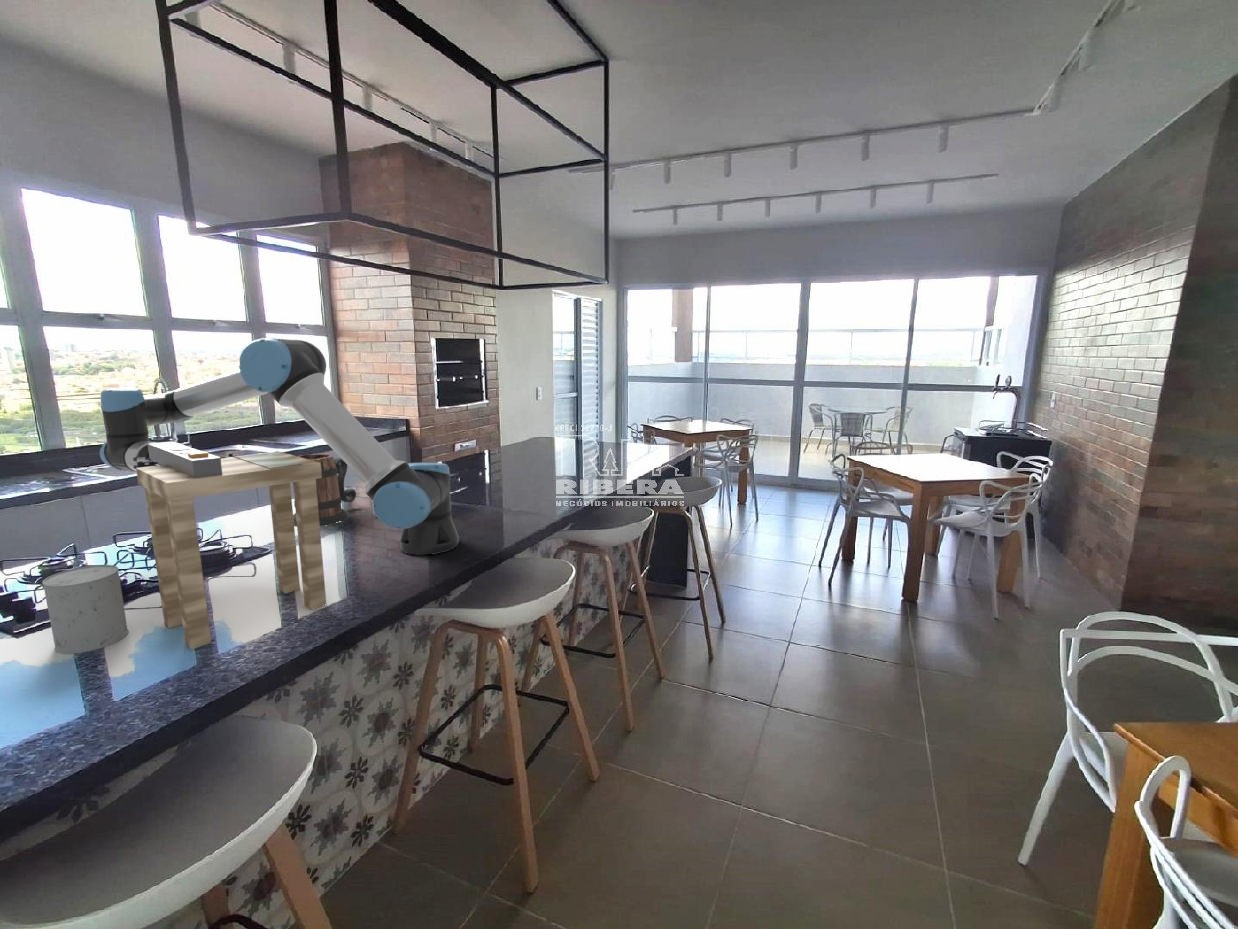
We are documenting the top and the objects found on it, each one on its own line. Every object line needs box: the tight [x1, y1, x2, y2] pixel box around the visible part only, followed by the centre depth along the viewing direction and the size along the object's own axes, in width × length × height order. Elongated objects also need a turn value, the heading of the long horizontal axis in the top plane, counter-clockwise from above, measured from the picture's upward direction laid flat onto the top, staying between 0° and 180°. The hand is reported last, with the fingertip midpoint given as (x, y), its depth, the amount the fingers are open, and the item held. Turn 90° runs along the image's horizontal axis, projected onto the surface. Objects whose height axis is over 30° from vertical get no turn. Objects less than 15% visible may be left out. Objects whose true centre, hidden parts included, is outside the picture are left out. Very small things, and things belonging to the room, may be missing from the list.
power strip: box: [148, 441, 222, 478], centre depth 101 cm, size 26×4×4 cm, turn 53°
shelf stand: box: [135, 451, 327, 650], centre depth 106 cm, size 18×24×30 cm
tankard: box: [293, 453, 357, 528], centre depth 173 cm, size 24×17×20 cm
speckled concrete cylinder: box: [41, 564, 129, 655], centre depth 97 cm, size 10×10×12 cm
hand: (214, 467), depth 119 cm, fingers open, 13 cm apart
